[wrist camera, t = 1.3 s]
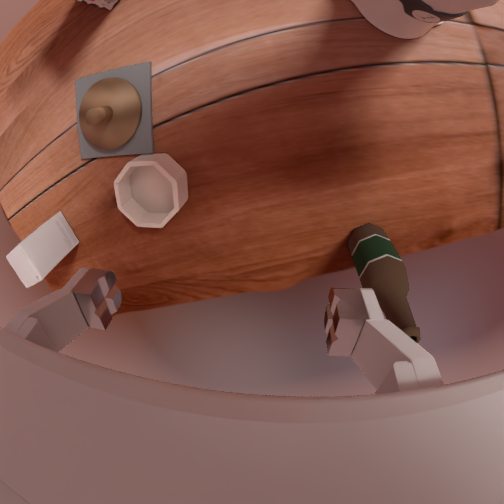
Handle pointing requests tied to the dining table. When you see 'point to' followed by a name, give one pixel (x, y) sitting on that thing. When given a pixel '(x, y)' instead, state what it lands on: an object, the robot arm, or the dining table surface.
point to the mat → (144, 134)
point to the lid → (110, 113)
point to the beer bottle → (383, 275)
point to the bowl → (151, 189)
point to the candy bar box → (101, 3)
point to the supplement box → (42, 250)
